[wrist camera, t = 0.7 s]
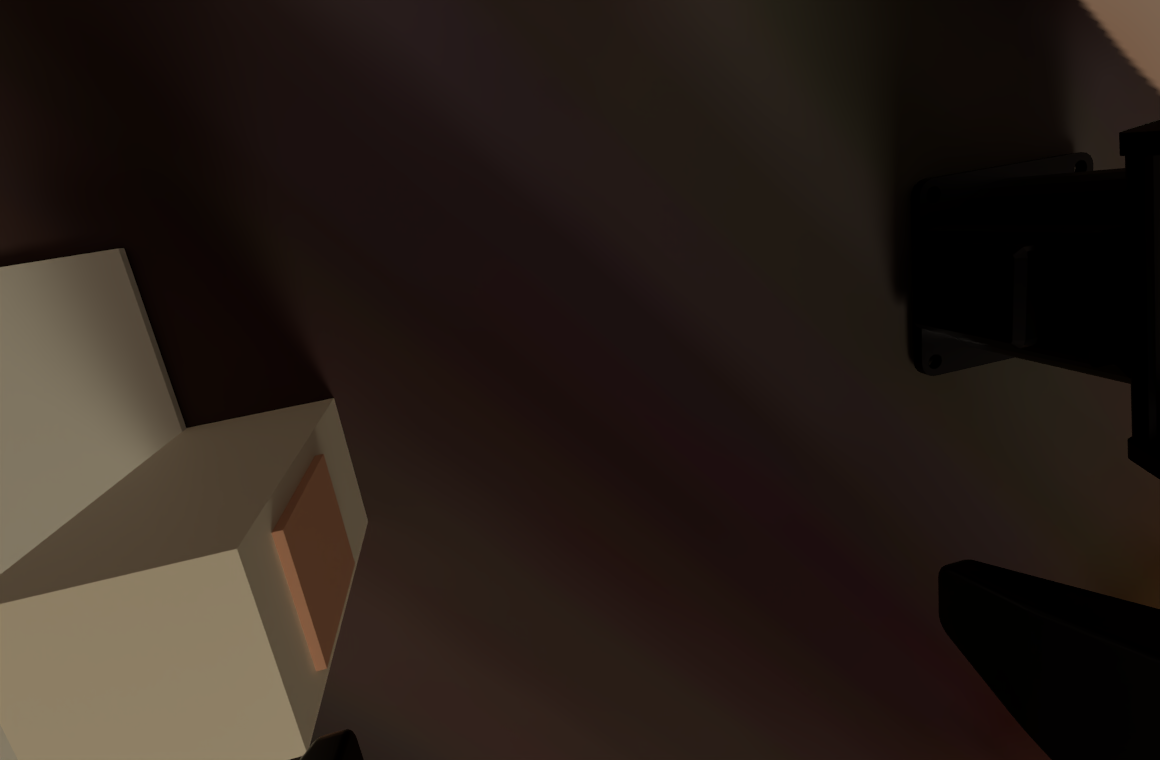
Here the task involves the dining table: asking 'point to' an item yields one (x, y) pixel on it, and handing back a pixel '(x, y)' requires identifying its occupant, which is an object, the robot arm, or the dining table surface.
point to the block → (189, 600)
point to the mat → (73, 394)
